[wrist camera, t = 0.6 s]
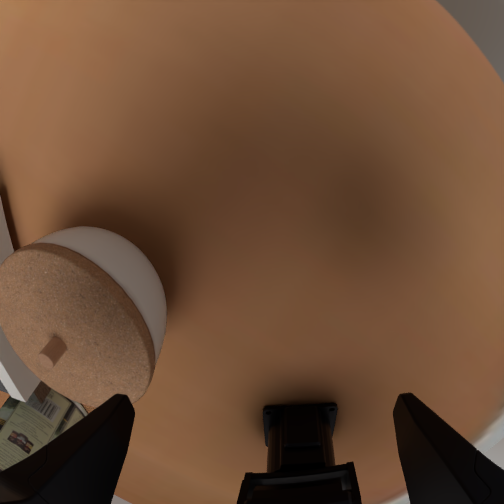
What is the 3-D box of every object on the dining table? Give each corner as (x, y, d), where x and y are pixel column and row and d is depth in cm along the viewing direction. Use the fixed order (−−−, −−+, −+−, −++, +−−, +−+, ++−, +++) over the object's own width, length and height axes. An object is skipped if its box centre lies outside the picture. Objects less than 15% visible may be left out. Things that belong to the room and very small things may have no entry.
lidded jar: (195, 342, 23) (162, 444, 14) (77, 331, 24) (22, 406, 15) (177, 200, 19) (104, 266, 10) (44, 209, 20) (-46, 261, 11)
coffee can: (40, 417, 31) (-3, 491, 18) (11, 363, 27) (-50, 443, 14) (102, 439, 31) (64, 528, 18) (77, 386, 27) (18, 491, 14)
